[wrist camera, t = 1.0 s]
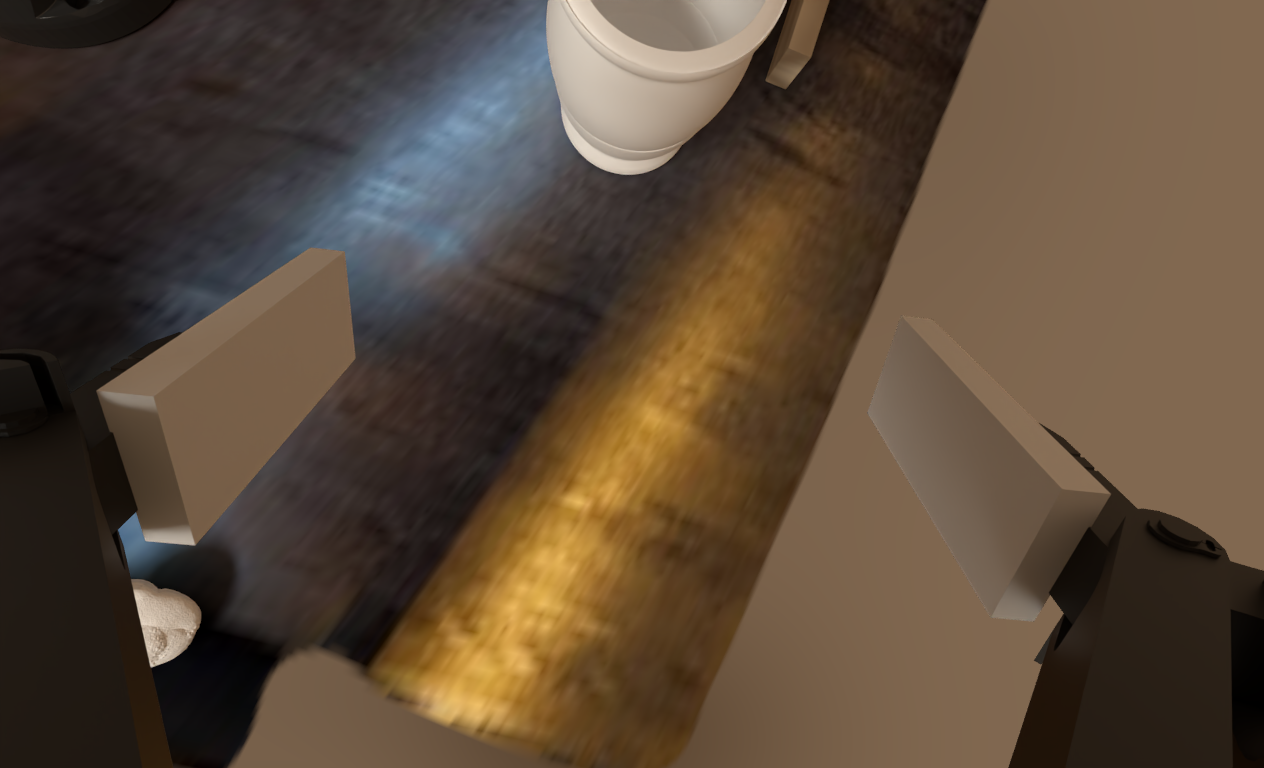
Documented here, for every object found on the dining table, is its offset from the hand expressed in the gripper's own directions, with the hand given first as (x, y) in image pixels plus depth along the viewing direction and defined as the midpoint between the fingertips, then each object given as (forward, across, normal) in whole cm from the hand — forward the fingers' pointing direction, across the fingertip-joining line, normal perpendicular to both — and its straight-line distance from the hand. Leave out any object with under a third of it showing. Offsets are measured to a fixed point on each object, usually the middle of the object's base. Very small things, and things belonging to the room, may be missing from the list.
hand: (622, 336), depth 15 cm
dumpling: (+11, -24, -26) cm, 37 cm away
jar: (+31, -1, +2) cm, 31 cm away
